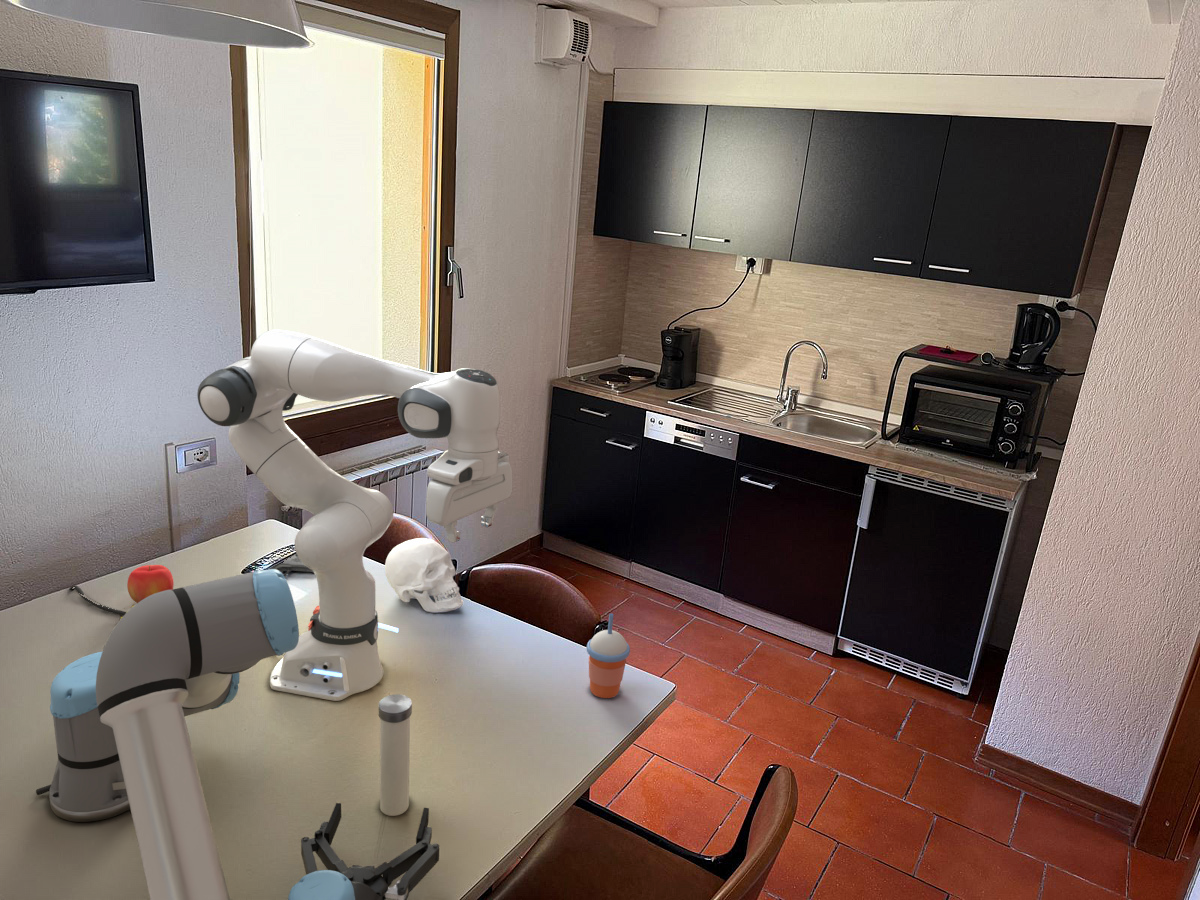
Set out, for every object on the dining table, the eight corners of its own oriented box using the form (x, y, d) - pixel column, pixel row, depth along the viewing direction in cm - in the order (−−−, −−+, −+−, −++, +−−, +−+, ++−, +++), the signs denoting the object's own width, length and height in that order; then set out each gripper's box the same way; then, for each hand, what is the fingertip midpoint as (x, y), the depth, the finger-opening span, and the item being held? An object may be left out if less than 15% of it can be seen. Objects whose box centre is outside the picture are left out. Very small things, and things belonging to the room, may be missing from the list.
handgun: (292, 594, 211) (247, 586, 213) (325, 565, 228) (283, 558, 229) (291, 586, 211) (246, 578, 212) (325, 557, 227) (283, 550, 229)
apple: (178, 610, 199) (175, 571, 196) (132, 618, 194) (128, 578, 191) (171, 592, 207) (168, 555, 204) (127, 600, 202) (123, 562, 199)
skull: (448, 622, 203) (451, 561, 199) (372, 599, 211) (374, 540, 207) (477, 602, 215) (480, 543, 211) (405, 581, 223) (406, 524, 219)
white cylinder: (396, 792, 147) (397, 694, 141) (414, 805, 144) (416, 705, 138) (374, 806, 143) (374, 705, 138) (392, 820, 141) (392, 718, 135)
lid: (397, 700, 142) (397, 690, 141) (418, 713, 139) (418, 703, 138) (371, 713, 138) (371, 703, 137) (392, 727, 135) (392, 717, 134)
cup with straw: (621, 706, 176) (629, 628, 171) (578, 698, 178) (585, 621, 173) (629, 682, 185) (636, 608, 180) (588, 675, 186) (594, 601, 181)
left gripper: (252, 942, 114) (302, 827, 134) (439, 951, 115) (461, 836, 135) (249, 897, 112) (301, 788, 132) (440, 907, 113) (463, 797, 133)
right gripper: (495, 445, 161) (492, 513, 165) (420, 470, 144) (419, 545, 148) (522, 452, 158) (518, 521, 162) (448, 478, 141) (446, 555, 145)
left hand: (382, 812), depth 134 cm, fingers open, 13 cm apart
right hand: (470, 533), depth 155 cm, fingers open, 8 cm apart
